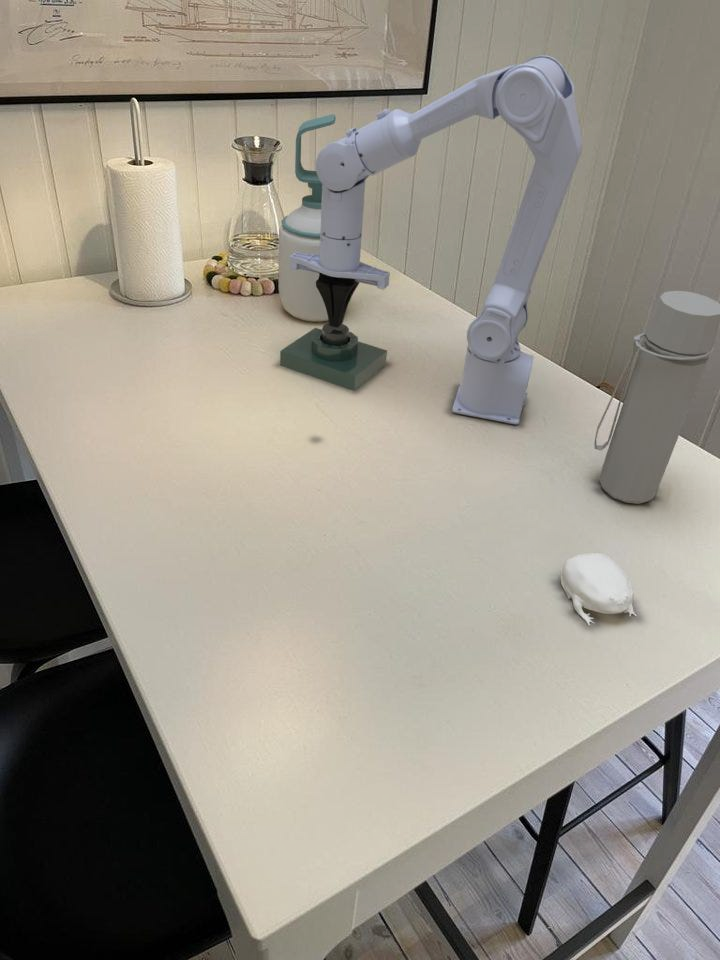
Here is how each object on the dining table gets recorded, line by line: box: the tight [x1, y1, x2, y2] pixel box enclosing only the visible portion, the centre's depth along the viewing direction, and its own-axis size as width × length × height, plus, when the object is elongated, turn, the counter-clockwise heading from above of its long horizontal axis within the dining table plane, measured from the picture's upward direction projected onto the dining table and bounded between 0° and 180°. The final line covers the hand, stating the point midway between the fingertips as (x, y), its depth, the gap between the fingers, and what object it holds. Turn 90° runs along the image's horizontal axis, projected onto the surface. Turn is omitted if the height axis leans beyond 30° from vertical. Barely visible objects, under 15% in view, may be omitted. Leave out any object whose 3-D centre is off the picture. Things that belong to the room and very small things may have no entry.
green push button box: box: [279, 327, 388, 392], centre depth 114 cm, size 13×10×4 cm
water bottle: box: [593, 290, 720, 505], centre depth 88 cm, size 9×8×25 cm
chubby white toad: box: [559, 552, 637, 626], centre depth 78 cm, size 8×7×4 cm
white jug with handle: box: [278, 113, 337, 323], centre depth 121 cm, size 12×12×31 cm
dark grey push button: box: [321, 322, 350, 346], centre depth 112 cm, size 4×4×2 cm
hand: (336, 324), depth 111 cm, fingers closed
